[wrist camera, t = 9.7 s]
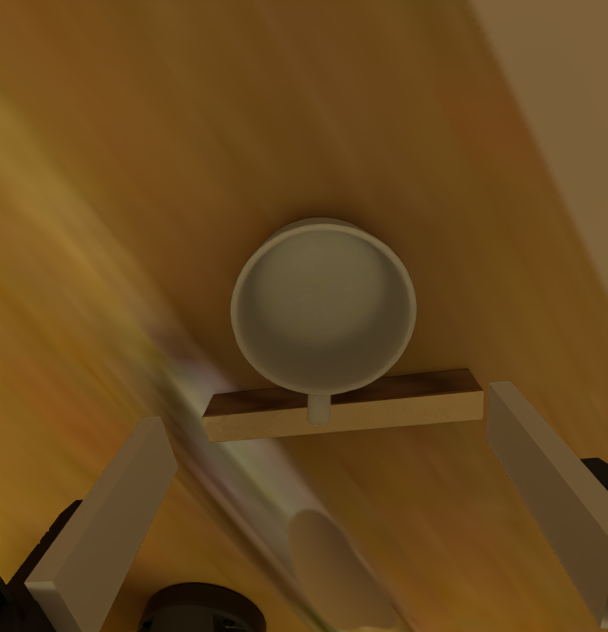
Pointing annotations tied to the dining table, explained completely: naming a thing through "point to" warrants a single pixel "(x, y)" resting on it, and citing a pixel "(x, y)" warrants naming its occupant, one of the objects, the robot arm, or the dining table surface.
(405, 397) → the stop bar
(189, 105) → the dining table surface
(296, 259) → the teacup
